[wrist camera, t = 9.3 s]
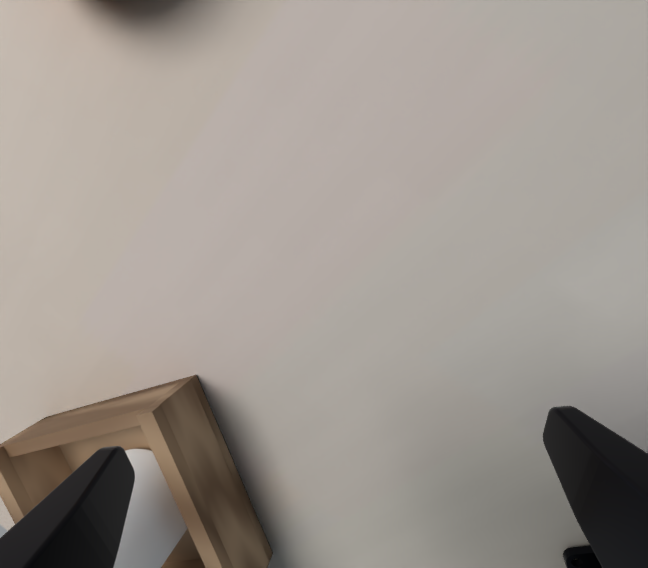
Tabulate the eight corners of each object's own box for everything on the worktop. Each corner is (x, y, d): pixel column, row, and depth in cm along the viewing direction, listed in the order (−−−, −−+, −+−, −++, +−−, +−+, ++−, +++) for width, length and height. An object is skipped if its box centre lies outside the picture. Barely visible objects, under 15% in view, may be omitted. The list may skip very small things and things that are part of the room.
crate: (274, 553, 25) (246, 621, 21) (120, 570, 28) (71, 632, 24) (197, 374, 23) (151, 411, 19) (44, 417, 27) (-21, 456, 23)
